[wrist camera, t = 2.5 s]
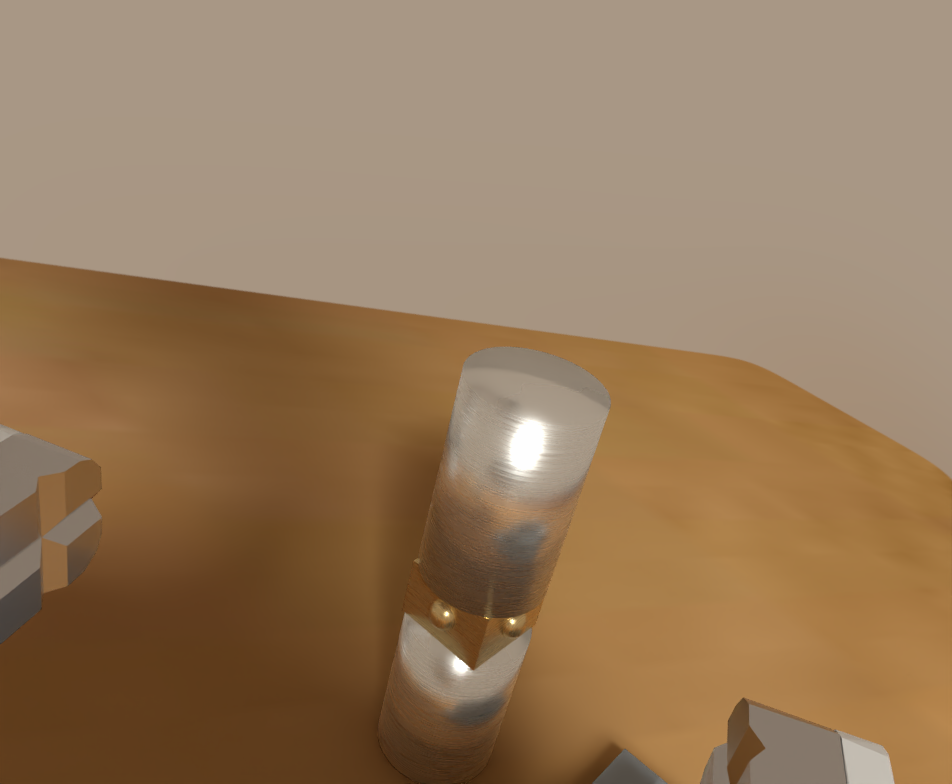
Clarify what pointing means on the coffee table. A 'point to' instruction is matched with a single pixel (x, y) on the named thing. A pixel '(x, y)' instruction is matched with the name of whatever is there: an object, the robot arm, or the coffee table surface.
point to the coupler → (487, 556)
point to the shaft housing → (628, 772)
